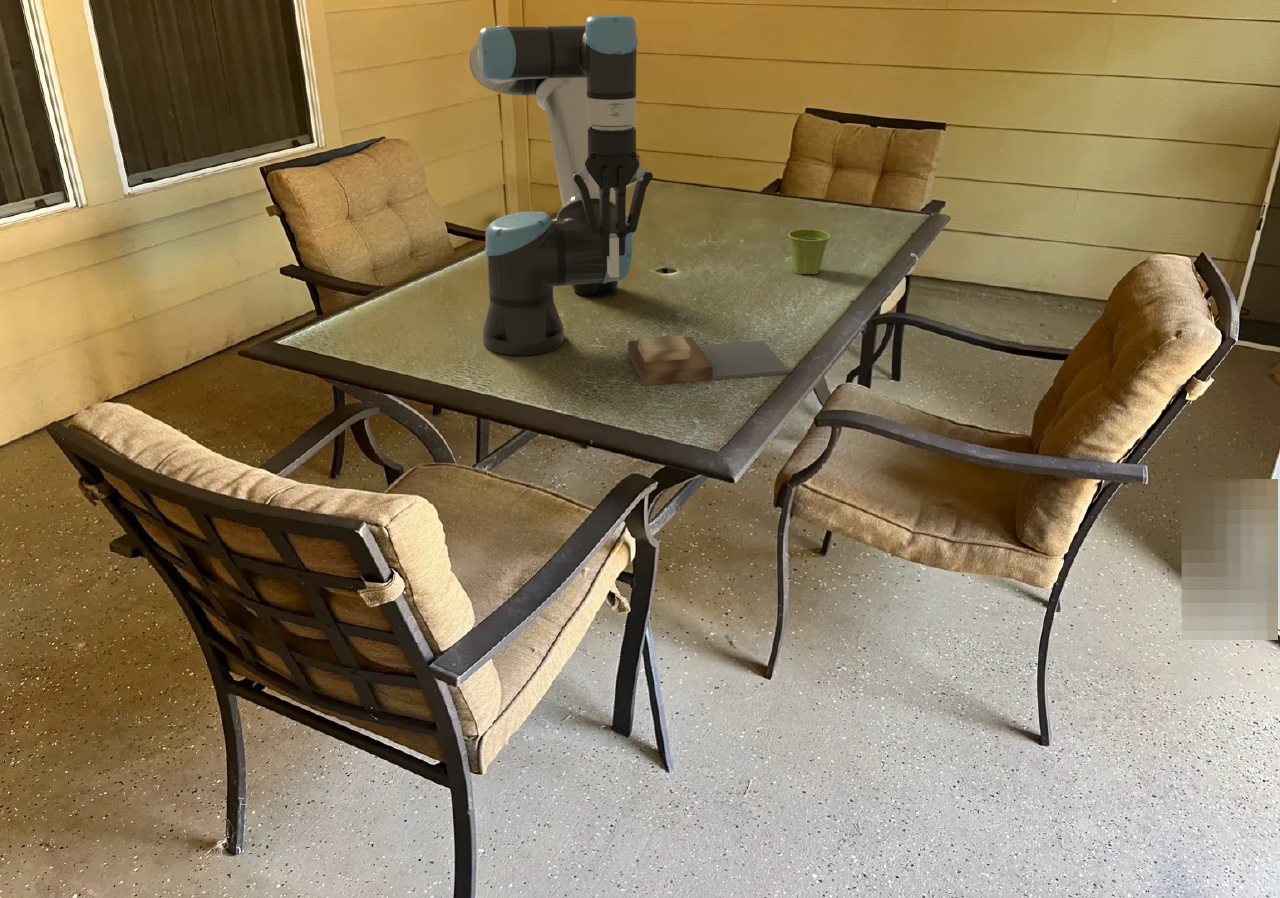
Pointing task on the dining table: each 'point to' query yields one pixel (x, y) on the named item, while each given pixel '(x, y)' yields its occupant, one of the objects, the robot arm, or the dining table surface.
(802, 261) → the plant pot
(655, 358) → the birch tile
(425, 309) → the dining table surface
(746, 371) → the slate mat
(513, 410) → the dining table surface
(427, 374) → the dining table surface
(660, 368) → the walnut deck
